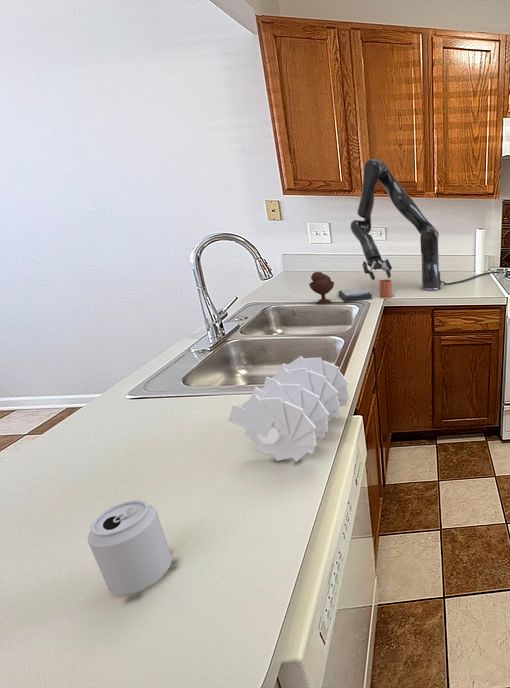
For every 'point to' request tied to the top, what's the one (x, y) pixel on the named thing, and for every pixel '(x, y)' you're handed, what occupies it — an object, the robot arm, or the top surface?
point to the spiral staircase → (293, 408)
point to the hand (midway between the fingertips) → (381, 278)
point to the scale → (354, 294)
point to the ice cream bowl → (321, 285)
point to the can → (129, 547)
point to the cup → (385, 288)
